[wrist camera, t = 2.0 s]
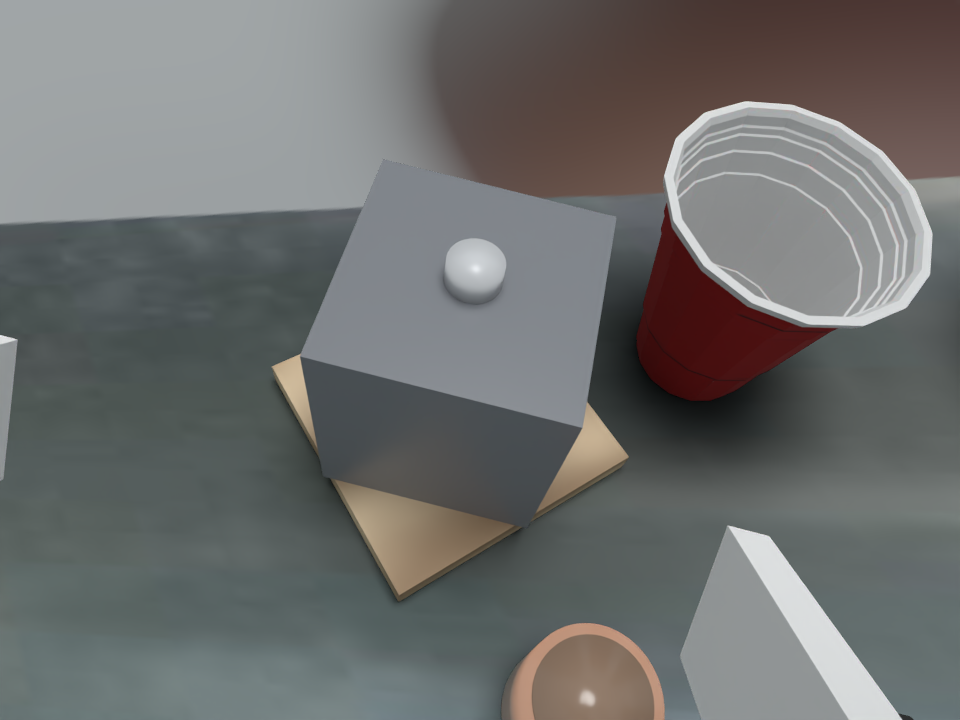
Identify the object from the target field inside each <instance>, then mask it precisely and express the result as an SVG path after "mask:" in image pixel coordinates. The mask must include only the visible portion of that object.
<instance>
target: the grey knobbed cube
mask: <svg viewBox="0 0 960 720" xmlns="http://www.w3.org/2000/svg"><path fill="white" fill-rule="evenodd" d="M615 224H616V217H614V216H610V215H606V214H602V213H598V212H594V211H590V210H586V209H582V208H578V207H574V206H570V205H566V204H562V203H558V202H554V201H550V200H546V199H542V198H538V197H534V196H530V195H526V194H521V193H517V192H513V191H509V190H505V189H501V188H497V187H493V186H489V185H485V184H481V183H477V182H473V181H469V180H465V179H461V178H457V177H453V176H449V175H445V174H441V173H436V172H433V171H428V170H425V169H421V168H417V167H413V166H409V165H405V164H401V163H397V162H392V161H388V160H385V159H383V161H382V163H381V166H380V168H379V170H378V173H377V175H376V178H375V180H374V182H373V185H372V187H371V189H370V192H369V194H368V196H367V199H366V201H365V203H364V206H363V208H362V211H361V213H360V215H359V218H358V220H357V222H356V225H355V227H354V229H353V232H352V234H351V237H350V239H349V241H348V244H347V246H346V248H345V251H344V253H343V255H342V258H341V260H340V263H339V265H338V267H337V270H336V272H335V274H334V277H333V279H332V281H331V284H330V286H329V289H328V291H327V293H326V296H325V298H324V300H323V303H322V305H321V307H320V310H319V312H318V315H317V317H316V319H315V322H314V324H313V326H312V329H311V331H310V333H309V336H308V338H307V341H306V343H305V345H304V348H303V350H302V352H301V355H300V360H301V365H302V370H303V376H304V381H305V386H306V391H307V396H308V401H309V407H310V412H311V417H312V422H313V427H314V432H315V437H316V443H317V448H318V453H319V458H320V463H321V468H322V474H323V477H327V478H331V479H335V480H339V481H343V482H347V483H351V484H355V485H359V486H362V487H366V488H370V489H374V490H378V491H382V492H386V493H390V494H394V495H398V496H402V497H406V498H409V499H413V500H417V501H421V502H425V503H429V504H433V505H437V506H441V507H445V508H449V509H453V510H456V511H460V512H464V513H468V514H472V515H476V516H480V517H484V518H488V519H492V520H496V521H500V522H503V523H507V524H511V525H515V526H519V527H523V528H527V527H528V526H529V524H530V522H531V520H532V518H533V517H534V515H535V513H536V511H537V509H538V508H539V506H540V504H541V502H542V500H543V499H544V497H545V495H546V493H547V491H548V490H549V488H550V486H551V484H552V482H553V480H554V479H555V477H556V475H557V473H558V471H559V470H560V468H561V466H562V464H563V462H564V461H565V459H566V457H567V455H568V453H569V452H570V450H571V448H572V446H573V444H574V443H575V441H576V439H577V437H578V435H579V434H580V432H581V430H582V428H583V423H584V417H585V410H586V404H587V398H588V392H589V385H590V379H591V373H592V367H593V361H594V354H595V348H596V342H597V336H598V329H599V323H600V317H601V311H602V305H603V298H604V292H605V286H606V280H607V273H608V267H609V261H610V255H611V249H612V242H613V236H614V230H615Z"/></svg>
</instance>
